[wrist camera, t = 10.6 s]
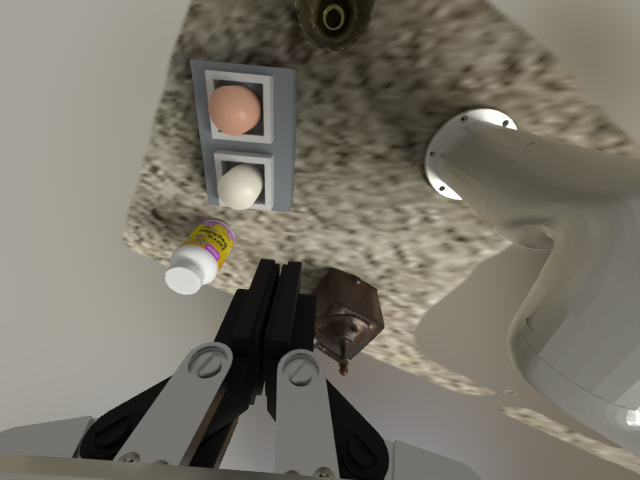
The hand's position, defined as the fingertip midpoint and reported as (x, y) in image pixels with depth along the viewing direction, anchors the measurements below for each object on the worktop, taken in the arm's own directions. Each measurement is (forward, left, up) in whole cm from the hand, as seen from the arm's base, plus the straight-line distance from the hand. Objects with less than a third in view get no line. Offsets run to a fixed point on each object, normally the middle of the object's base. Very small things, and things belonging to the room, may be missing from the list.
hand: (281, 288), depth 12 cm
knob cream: (+9, +5, -28) cm, 30 cm away
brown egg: (+9, -4, -28) cm, 30 cm away
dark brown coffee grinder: (-5, +27, -32) cm, 42 cm away
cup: (-1, -14, -32) cm, 35 cm away
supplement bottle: (+16, +17, -32) cm, 40 cm away
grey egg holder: (+9, +1, -32) cm, 33 cm away
